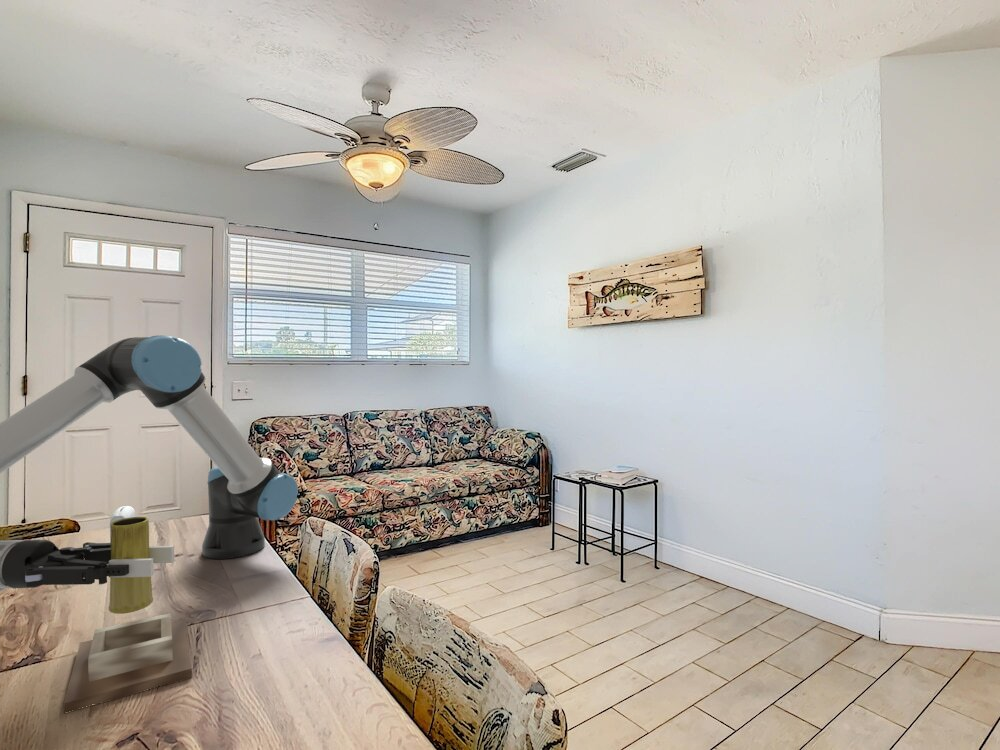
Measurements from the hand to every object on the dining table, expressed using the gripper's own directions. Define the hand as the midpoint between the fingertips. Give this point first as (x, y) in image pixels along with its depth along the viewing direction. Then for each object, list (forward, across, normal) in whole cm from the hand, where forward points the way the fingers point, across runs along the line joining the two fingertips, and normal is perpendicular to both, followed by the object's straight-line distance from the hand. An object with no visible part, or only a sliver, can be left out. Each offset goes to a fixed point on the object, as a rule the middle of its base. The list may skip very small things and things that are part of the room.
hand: (162, 560), depth 90 cm
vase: (-5, 0, -8) cm, 9 cm away
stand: (-5, 0, -17) cm, 18 cm away
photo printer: (-41, -54, -18) cm, 70 cm away
